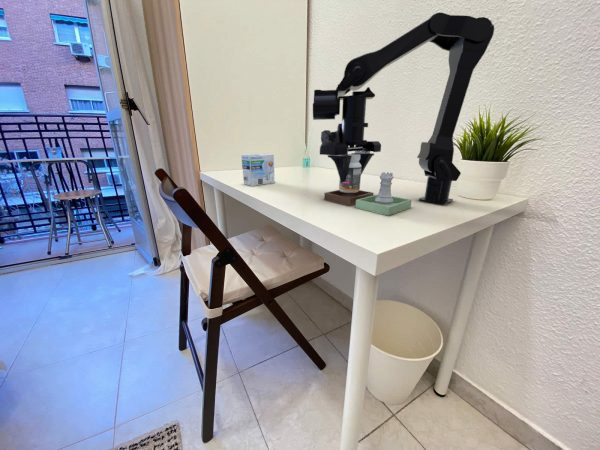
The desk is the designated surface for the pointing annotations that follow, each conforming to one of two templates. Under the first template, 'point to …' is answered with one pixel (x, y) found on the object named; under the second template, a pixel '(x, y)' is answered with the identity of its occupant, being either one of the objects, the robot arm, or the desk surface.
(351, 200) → the walnut tray
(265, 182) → the light bulb box
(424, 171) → the robot arm
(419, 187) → the desk surface
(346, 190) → the pill bottle
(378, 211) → the sage tray
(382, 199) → the rook chess piece
